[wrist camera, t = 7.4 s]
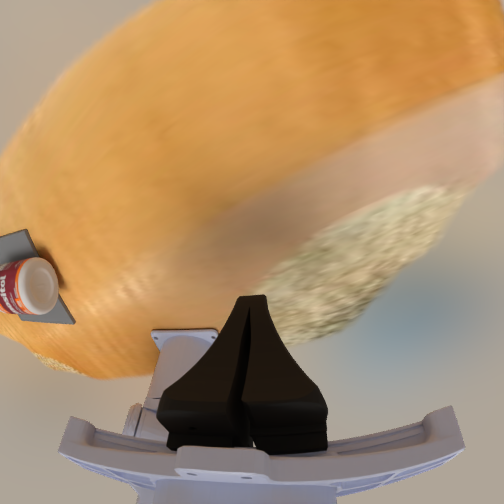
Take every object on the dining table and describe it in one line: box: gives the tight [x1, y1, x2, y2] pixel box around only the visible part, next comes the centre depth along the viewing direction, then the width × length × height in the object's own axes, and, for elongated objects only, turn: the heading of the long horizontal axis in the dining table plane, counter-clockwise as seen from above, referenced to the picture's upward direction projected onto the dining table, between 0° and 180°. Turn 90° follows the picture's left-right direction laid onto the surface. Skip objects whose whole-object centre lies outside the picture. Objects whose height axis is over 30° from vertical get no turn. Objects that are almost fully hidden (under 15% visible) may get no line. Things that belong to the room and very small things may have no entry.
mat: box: [0, 229, 76, 324], centre depth 28 cm, size 14×13×1 cm
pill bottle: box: [0, 257, 59, 315], centre depth 24 cm, size 6×6×11 cm
